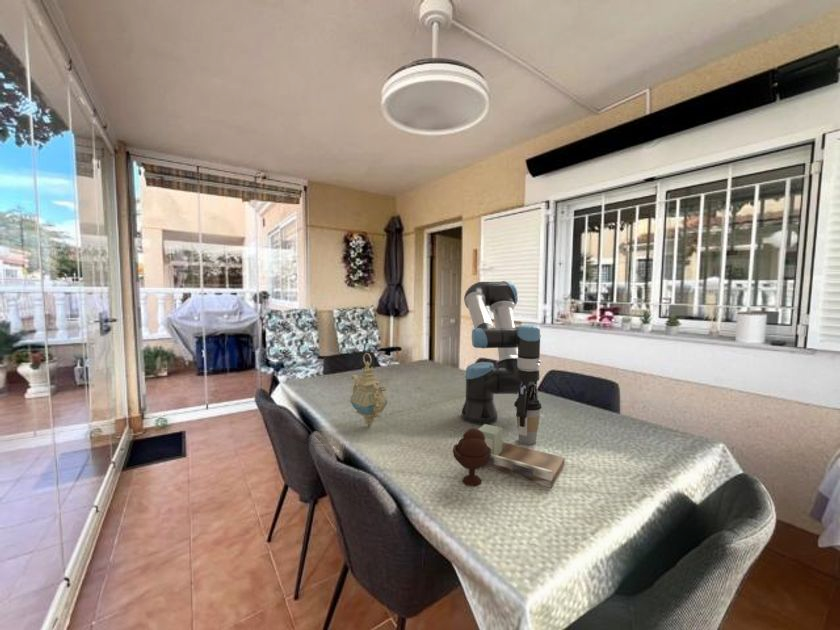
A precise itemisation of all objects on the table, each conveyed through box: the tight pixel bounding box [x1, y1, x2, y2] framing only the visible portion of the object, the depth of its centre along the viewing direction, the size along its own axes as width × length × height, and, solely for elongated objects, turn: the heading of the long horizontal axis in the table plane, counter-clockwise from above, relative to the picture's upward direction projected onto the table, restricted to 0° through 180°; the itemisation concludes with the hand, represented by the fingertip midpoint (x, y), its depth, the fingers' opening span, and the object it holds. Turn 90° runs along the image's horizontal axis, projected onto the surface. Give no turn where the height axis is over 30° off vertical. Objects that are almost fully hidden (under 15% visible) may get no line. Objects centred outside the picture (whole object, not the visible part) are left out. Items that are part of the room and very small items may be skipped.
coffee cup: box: [514, 397, 543, 445], centre depth 128 cm, size 9×9×15 cm
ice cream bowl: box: [452, 428, 491, 487], centre depth 102 cm, size 11×11×15 cm
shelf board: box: [482, 441, 566, 489], centre depth 112 cm, size 24×16×4 cm
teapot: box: [349, 352, 388, 428], centre depth 141 cm, size 24×12×30 cm, turn 39°
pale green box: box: [477, 424, 503, 455], centre depth 115 cm, size 6×6×8 cm
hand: (527, 429), depth 128 cm, fingers closed on coffee cup, 9 cm apart
